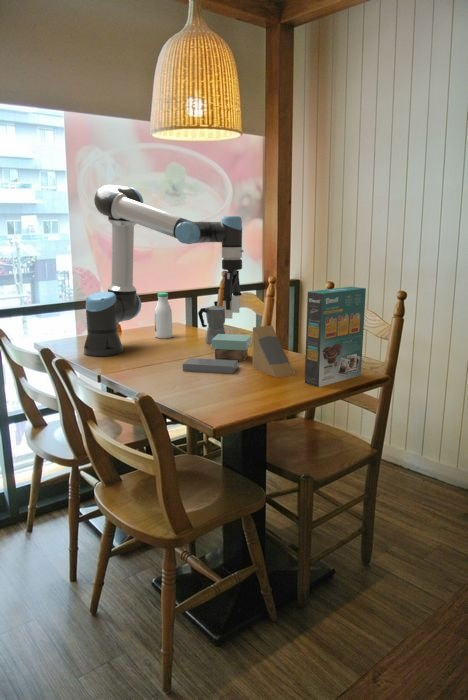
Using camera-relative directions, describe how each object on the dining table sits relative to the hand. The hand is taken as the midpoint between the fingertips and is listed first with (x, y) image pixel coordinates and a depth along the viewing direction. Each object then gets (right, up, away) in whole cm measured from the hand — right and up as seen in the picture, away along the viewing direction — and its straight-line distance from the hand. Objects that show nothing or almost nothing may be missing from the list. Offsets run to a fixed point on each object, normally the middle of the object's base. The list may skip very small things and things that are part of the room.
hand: (232, 315), depth 214 cm
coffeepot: (-8, -10, +30) cm, 33 cm away
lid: (0, -12, +3) cm, 12 cm away
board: (-8, -20, -13) cm, 25 cm away
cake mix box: (+34, -23, -25) cm, 48 cm away
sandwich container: (+15, -21, -15) cm, 29 cm away
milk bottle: (-31, -7, +42) cm, 53 cm away
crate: (0, -16, +4) cm, 17 cm away
